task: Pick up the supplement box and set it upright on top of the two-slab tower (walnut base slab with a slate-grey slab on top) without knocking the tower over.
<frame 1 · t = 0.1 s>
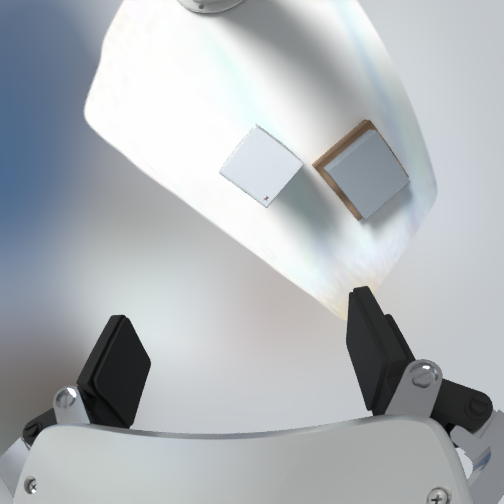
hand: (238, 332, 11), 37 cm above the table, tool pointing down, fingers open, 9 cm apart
supplement box: (259, 153, 44), on the table
slate grey slab: (364, 172, 42), point 2 cm above the table, touching walnut base slab
walnut base slab: (358, 167, 45), on the table, touching slate grey slab
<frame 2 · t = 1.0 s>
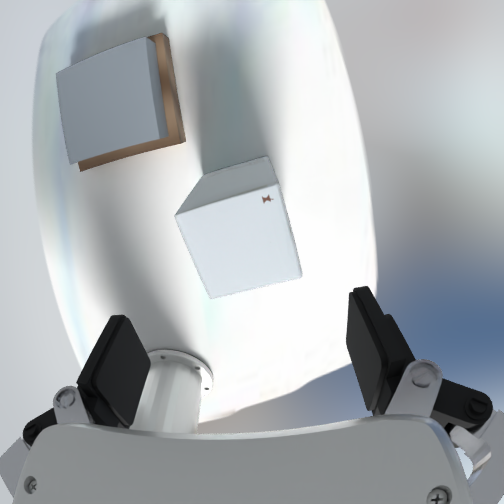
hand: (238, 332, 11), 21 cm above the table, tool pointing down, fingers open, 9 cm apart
supplement box: (244, 195, 31), on the table
slate grey slab: (115, 101, 23), point 2 cm above the table, touching walnut base slab
walnut base slab: (126, 103, 26), on the table, touching slate grey slab
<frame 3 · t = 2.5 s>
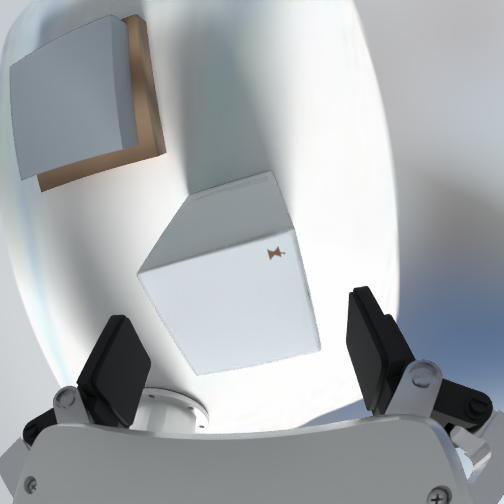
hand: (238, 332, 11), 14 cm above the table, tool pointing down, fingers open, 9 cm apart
supplement box: (241, 221, 24), on the table
slate grey slab: (76, 99, 17), point 2 cm above the table, touching walnut base slab
walnut base slab: (94, 105, 20), on the table, touching slate grey slab
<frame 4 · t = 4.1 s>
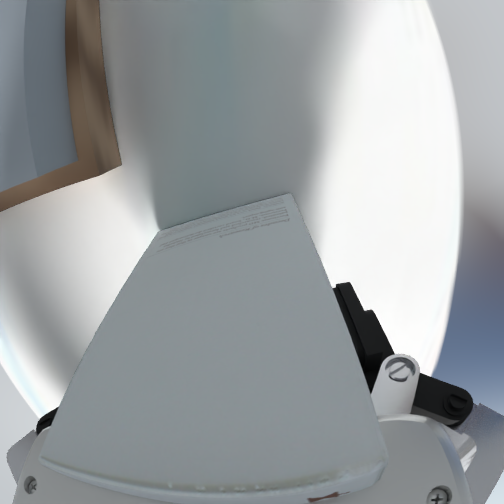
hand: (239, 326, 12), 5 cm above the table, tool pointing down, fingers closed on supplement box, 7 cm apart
supplement box: (242, 269, 16), on the table, touching gripper
walnut base slab: (29, 99, 11), on the table, touching slate grey slab
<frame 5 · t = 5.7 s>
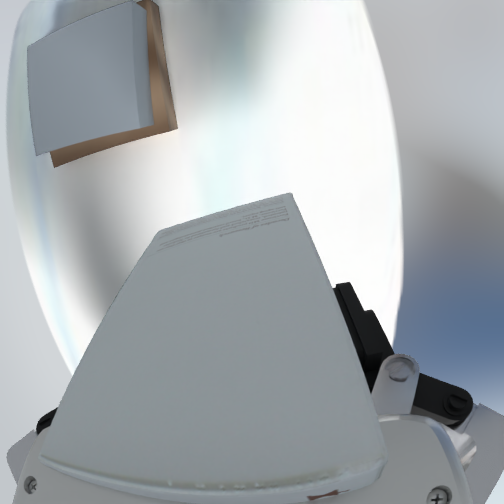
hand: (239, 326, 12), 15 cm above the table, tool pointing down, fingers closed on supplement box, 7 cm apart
supplement box: (242, 268, 16), point 10 cm above the table, touching gripper
slate grey slab: (93, 80, 17), point 2 cm above the table, touching walnut base slab
walnut base slab: (107, 84, 20), on the table, touching slate grey slab
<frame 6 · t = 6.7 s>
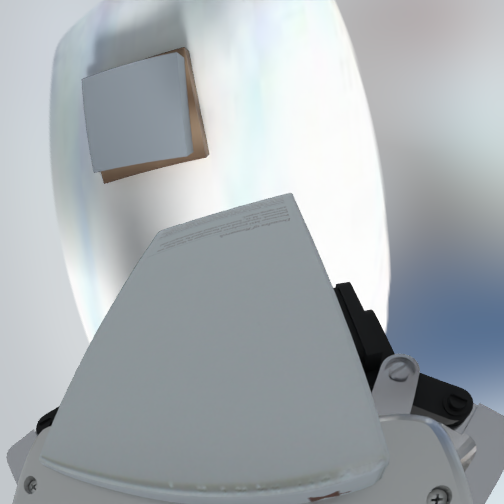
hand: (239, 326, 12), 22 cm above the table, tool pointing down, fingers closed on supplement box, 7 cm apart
supplement box: (242, 268, 16), point 17 cm above the table, touching gripper
slate grey slab: (141, 112, 25), point 2 cm above the table, touching walnut base slab
walnut base slab: (148, 115, 28), on the table, touching slate grey slab
when the fingers open (11 cm above the table, at t = 10.4 s): supplement box drops 1 cm, resting on slate grey slab.
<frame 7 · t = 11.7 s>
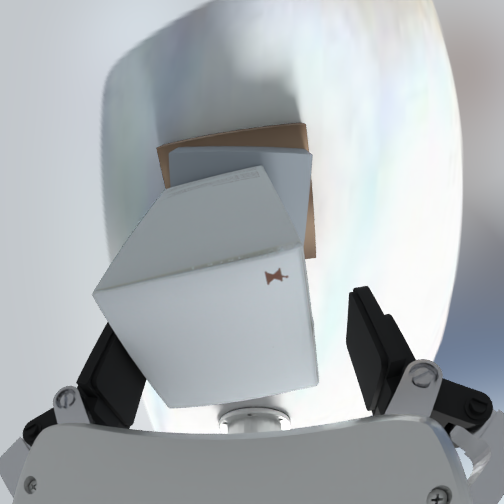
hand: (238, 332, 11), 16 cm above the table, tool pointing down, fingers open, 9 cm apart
supplement box: (224, 221, 21), point 5 cm above the table, touching gripper, slate grey slab
slate grey slab: (240, 205, 24), point 2 cm above the table, touching supplement box, walnut base slab
walnut base slab: (241, 193, 26), on the table, touching slate grey slab
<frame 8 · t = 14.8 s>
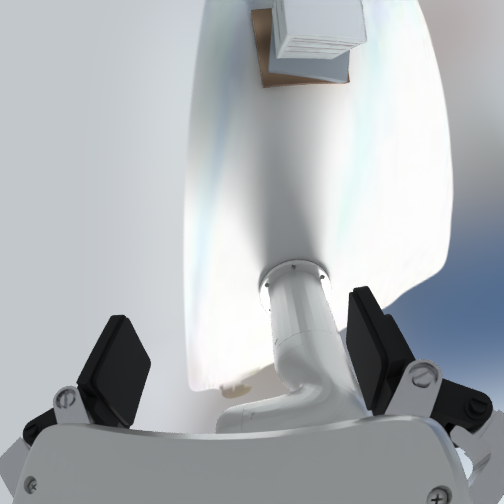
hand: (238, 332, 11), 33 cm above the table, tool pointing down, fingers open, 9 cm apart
supplement box: (301, 35, 28), point 5 cm above the table, touching slate grey slab
slate grey slab: (307, 44, 30), point 2 cm above the table, touching supplement box, walnut base slab
walnut base slab: (298, 47, 33), on the table, touching slate grey slab
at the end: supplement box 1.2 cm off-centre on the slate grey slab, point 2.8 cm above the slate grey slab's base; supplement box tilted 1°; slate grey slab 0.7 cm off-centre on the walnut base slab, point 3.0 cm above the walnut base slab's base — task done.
